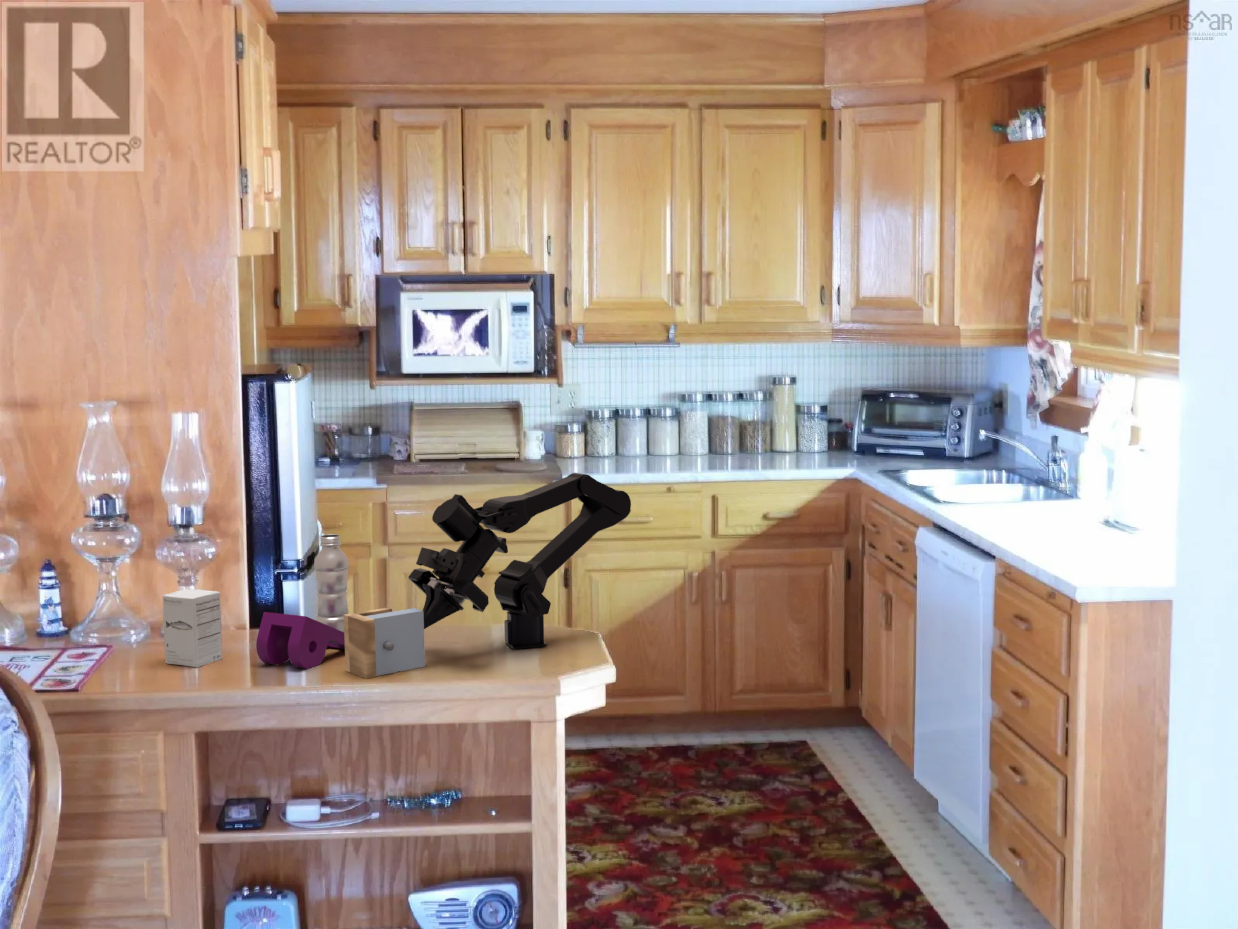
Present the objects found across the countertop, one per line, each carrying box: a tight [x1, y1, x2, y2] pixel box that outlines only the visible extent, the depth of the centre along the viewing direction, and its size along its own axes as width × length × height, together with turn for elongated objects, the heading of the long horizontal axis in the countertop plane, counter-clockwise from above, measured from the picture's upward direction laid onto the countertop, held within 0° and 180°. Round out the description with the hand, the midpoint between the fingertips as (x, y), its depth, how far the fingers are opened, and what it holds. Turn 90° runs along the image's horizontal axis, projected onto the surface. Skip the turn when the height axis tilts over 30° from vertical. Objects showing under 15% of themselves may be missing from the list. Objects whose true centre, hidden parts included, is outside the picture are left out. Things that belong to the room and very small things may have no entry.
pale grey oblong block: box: [365, 607, 426, 677], centre depth 258 cm, size 10×5×10 cm, turn 129°
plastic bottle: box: [313, 533, 350, 632], centre depth 281 cm, size 6×7×20 cm
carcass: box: [344, 607, 393, 680], centre depth 257 cm, size 9×7×10 cm
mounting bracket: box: [255, 611, 345, 670], centre depth 267 cm, size 9×8×18 cm
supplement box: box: [162, 588, 223, 668], centre depth 266 cm, size 7×7×13 cm
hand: (420, 627), depth 261 cm, fingers closed, pressing on pale grey oblong block
